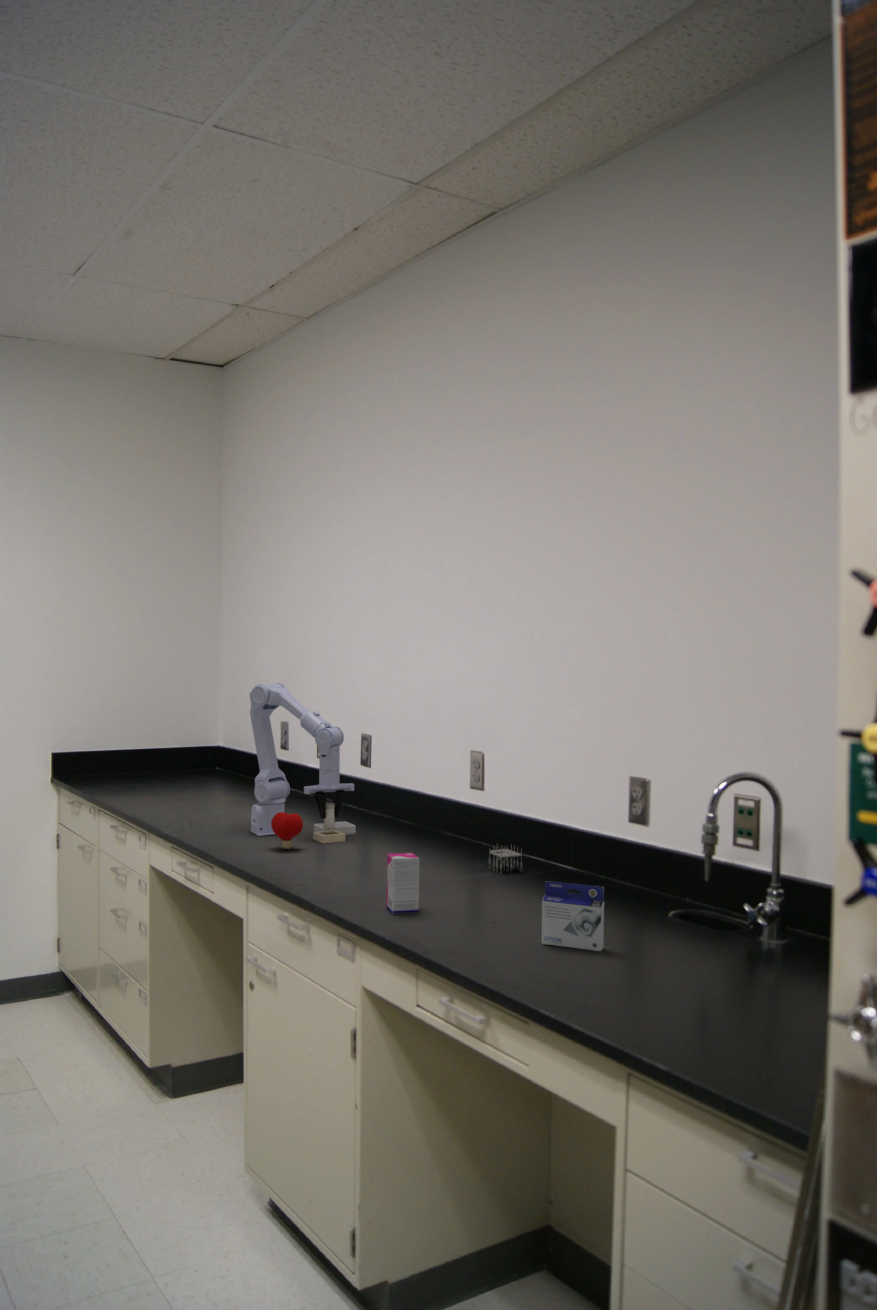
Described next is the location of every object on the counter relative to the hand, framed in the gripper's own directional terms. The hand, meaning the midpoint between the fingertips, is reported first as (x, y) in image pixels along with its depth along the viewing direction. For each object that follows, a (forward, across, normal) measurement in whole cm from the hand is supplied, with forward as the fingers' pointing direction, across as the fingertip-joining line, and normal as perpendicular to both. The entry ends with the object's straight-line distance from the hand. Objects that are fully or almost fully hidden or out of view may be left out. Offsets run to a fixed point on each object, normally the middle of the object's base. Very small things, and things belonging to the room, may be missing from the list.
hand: (329, 817), depth 277 cm
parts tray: (+6, +5, +8) cm, 12 cm away
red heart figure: (+7, -15, -7) cm, 18 cm away
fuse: (+3, 0, 0) cm, 3 cm away
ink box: (+6, +4, -112) cm, 112 cm away
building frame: (+6, +25, -54) cm, 60 cm away
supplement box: (+6, -13, -75) cm, 76 cm away
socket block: (+6, 0, 0) cm, 6 cm away
